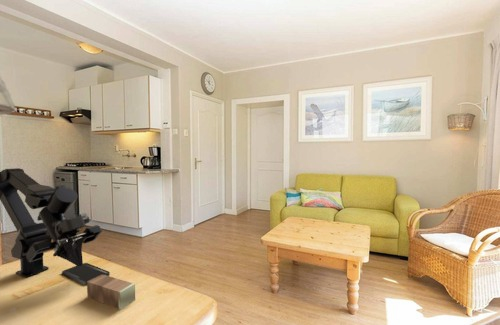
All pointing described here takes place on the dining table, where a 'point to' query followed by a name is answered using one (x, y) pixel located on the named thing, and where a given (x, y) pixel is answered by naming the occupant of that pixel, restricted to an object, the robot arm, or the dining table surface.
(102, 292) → the walnut block
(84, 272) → the phone
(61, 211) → the robot arm
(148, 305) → the dining table surface
